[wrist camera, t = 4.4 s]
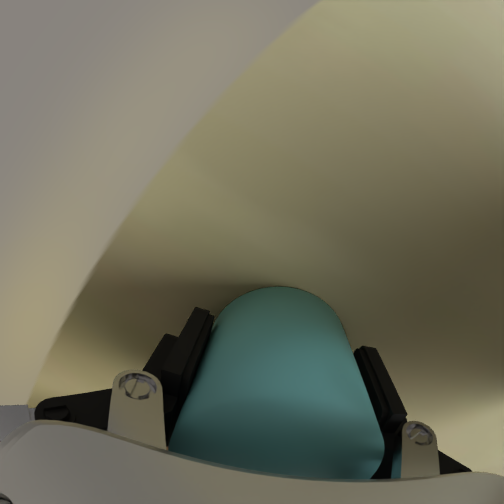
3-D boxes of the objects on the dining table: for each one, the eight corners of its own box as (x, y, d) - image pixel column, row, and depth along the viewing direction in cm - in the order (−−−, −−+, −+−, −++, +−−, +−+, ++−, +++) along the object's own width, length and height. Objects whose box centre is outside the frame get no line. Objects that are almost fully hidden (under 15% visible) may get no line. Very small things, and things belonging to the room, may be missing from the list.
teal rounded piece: (225, 270, 11) (179, 367, 6) (365, 305, 11) (424, 409, 6) (200, 383, 13) (163, 491, 7) (317, 407, 13) (331, 517, 7)
